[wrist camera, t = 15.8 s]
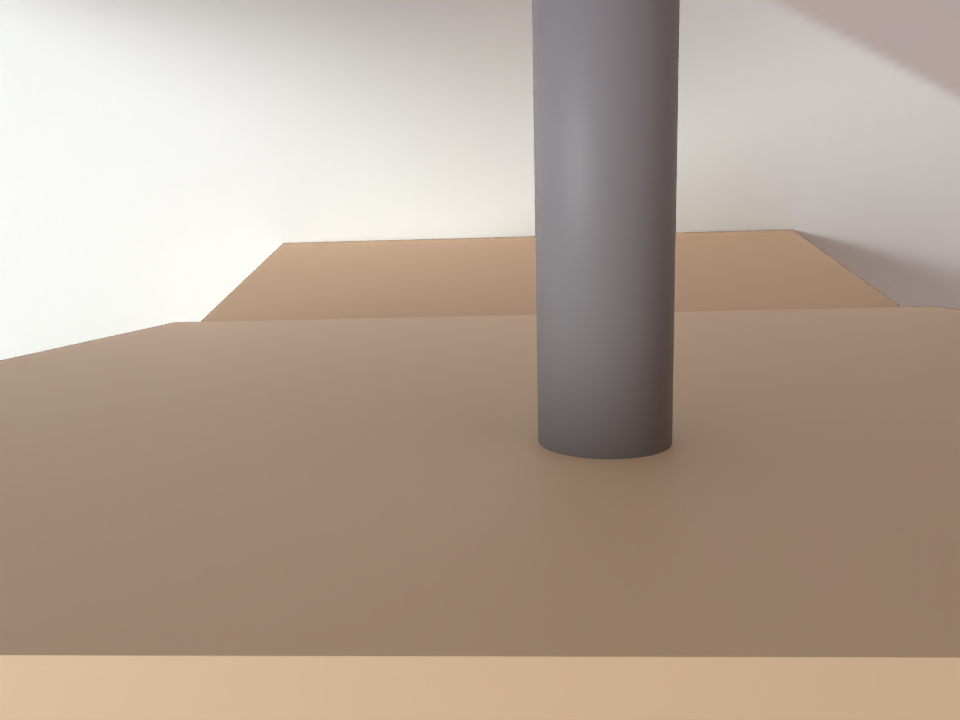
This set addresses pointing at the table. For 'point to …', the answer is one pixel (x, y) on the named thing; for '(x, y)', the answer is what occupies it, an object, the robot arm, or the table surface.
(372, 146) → the table surface
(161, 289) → the table surface
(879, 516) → the lid flap
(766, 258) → the carton
